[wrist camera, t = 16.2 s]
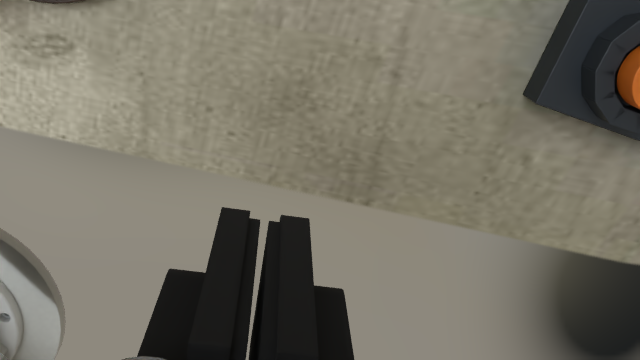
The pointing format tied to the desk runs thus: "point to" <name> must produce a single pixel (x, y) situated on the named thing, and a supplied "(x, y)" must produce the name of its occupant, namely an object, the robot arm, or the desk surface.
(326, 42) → the desk surface
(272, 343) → the robot arm
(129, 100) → the desk surface
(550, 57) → the button box
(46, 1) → the disc
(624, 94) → the button
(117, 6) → the desk surface
